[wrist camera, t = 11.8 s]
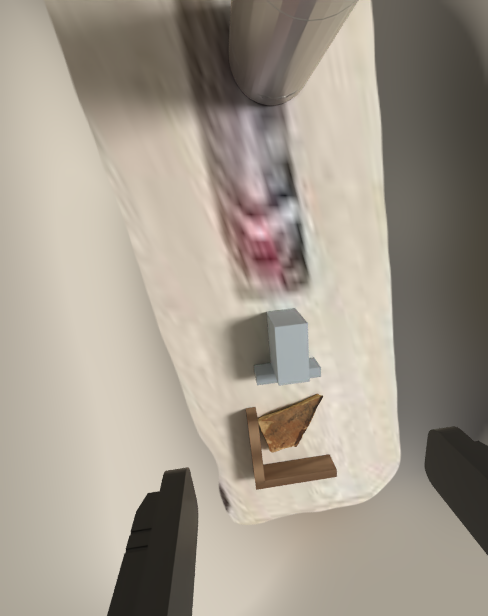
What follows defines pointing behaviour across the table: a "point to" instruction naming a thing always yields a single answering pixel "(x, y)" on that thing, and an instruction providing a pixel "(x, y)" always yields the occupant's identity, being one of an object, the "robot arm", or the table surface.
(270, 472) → the corner fence
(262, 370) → the grey inverted t block
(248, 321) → the table surface
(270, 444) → the shard
